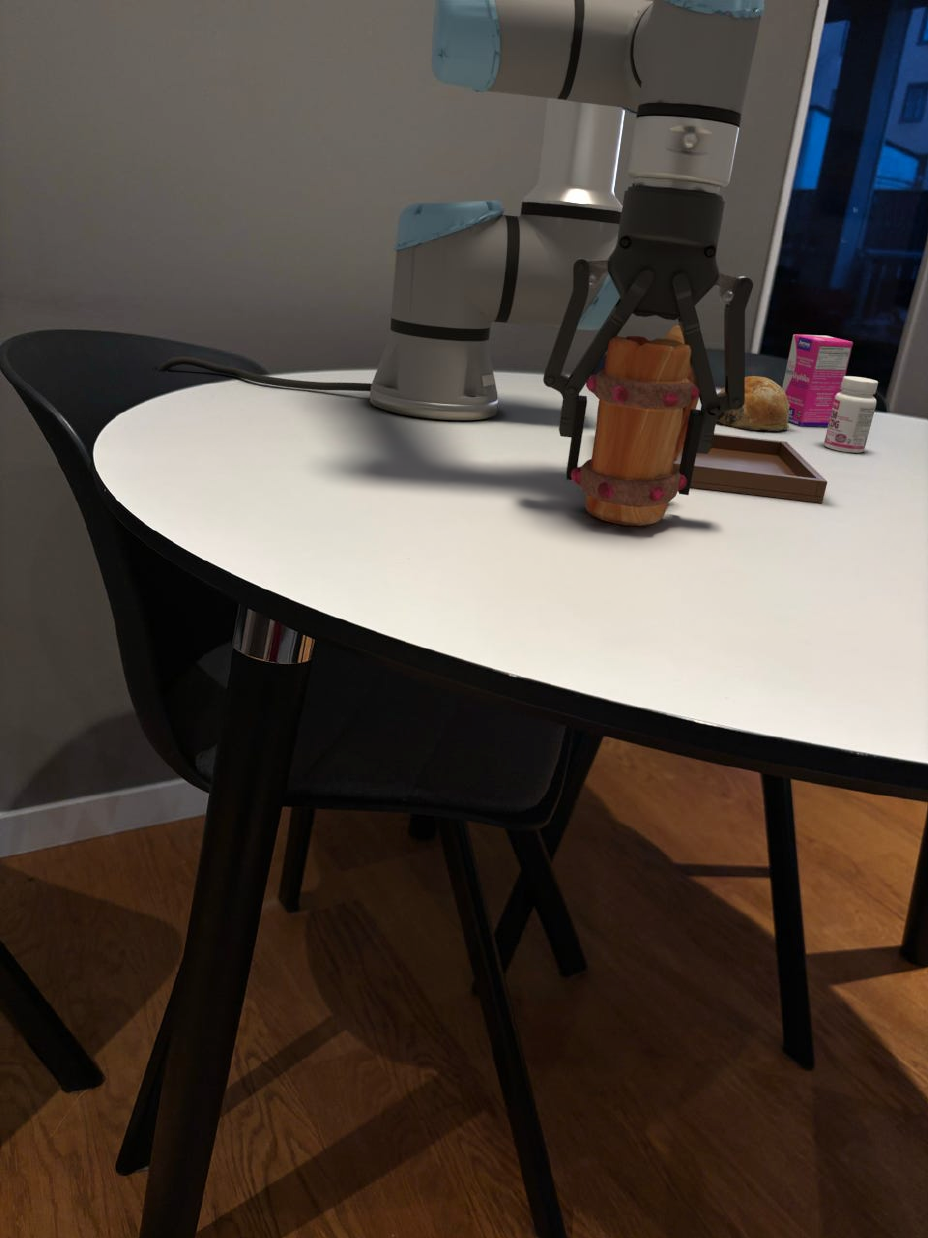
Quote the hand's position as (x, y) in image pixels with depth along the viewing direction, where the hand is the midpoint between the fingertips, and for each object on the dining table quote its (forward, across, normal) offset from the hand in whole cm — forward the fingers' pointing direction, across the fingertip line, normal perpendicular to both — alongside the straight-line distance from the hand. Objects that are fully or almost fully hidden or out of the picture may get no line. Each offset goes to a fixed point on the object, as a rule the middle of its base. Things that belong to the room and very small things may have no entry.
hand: (626, 483), depth 81 cm
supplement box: (+2, +28, +59) cm, 65 cm away
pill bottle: (+2, +29, +42) cm, 51 cm away
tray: (+2, +9, +21) cm, 23 cm away
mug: (+3, +1, 0) cm, 3 cm away
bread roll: (+2, +19, +52) cm, 56 cm away
